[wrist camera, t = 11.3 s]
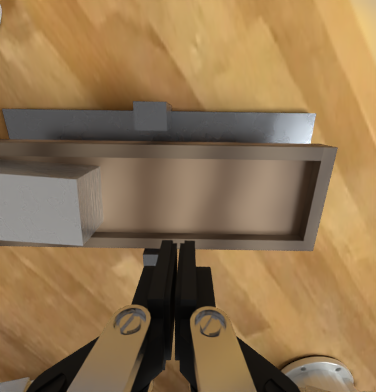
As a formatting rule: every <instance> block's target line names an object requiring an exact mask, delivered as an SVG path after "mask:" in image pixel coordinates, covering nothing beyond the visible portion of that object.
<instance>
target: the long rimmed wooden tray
mask: <svg viewBox="0 0 376 392" xmlns="http://www.w3.org/2000/svg"><path fill="white" fill-rule="evenodd" d="M337 149H338V148H337V147H332V146H327V145H322V144H297V143H230V142H163V141H96V140H29V139H0V159H7V160H20V161H34V162H47V163H60V164H74V165H87V166H100V174H101V190H102V206H103V222H102V224H101V225H100V226H99V227H98V228H97V230H96V231H95V232H94V233H93V234H92V236H91V237H90V238H89V239H88V241H87V242H86V243H85V244H84V245H83V246H77V245H62V244H48V243H33V242H18V241H4V240H0V246H33V247H95V248H157V249H160V246H161V243H162V240H173V243H177V249H180V243H184V240H188V241H195V249H219V250H281V251H313V248H314V244H315V240H316V236H317V232H318V227H319V223H320V219H321V215H322V211H323V207H324V203H325V198H326V194H327V190H328V186H329V182H330V178H331V173H332V169H333V165H334V161H335V157H336V153H337Z"/></svg>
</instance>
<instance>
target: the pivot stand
mask: <svg viewBox="0 0 376 392" xmlns="http://www.w3.org/2000/svg"><path fill="white" fill-rule="evenodd" d="M133 109H134V111H110V110H42V109H2V111H3V114H4V118H5V122H6V126H7V130H8V134H9V138H10V139H29V140H96V141H163V142H230V143H297V144H310V142H311V137H312V132H313V127H314V122H315V117H316V114H313V113H245V112H178V111H172V106H171V105H170V104H168V103H167V102H138V101H133ZM159 250H160V249H157V248H145V250H144V253H143V262H144V266H156V262H157V258H158V254H159Z"/></svg>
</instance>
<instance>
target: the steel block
mask: <svg viewBox="0 0 376 392" xmlns="http://www.w3.org/2000/svg"><path fill="white" fill-rule="evenodd" d="M102 222H103V206H102V190H101V174H100V166H87V165H74V164H60V163H47V162H34V161H20V160H7V159H0V240H4V241H18V242H33V243H48V244H62V245H77V246H83V245H84V244H85V243H86V242H87V241H88V239H89V238H90V237H91V236H92V234H93V233H94V232H95V231H96V230H97V228H98V227H99V226H100V225H101V224H102Z"/></svg>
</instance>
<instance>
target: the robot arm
mask: <svg viewBox="0 0 376 392" xmlns="http://www.w3.org/2000/svg"><path fill="white" fill-rule="evenodd" d="M174 320H175V360H180V372H181V373H182V374H183V376H184V377H185V378H186V379H187V380H188V381H189V392H359V391H358V390H356V388H355V387H354V385H353V384H354V381H353V377H352V374H351V373H350V371H349V370H348V368H347V367H346V366H345V365H344V364H343V363H342V362H340V361H338V360H336V359H333V358H329V357H308V358H304V359H300V360H297V361H295V362H293V363H291V364H289V365H287V366H286V367H285V368H283V369H282V370H281V371H280V370H279V369H277V368H276V367H275V366H274V365H272V364H271V363H270V362H269V361H267V360H266V359H265V358H264V357H262V356H261V355H260V354H258V353H257V352H256V351H255V350H253V349H252V348H251V347H250V346H248V345H247V344H246V343H244V342H243V341H242V340H241V339H239V338H238V337H237V336H236V335H235V332H234V329H233V327H232V324H231V321H230V319H229V317H228V316H227V314H225V313H224V312H223V311H222V310H220V309H218V308H216V306H215V298H214V290H213V283H212V275H211V268H210V267H196V261H195V241H188V240H184V243H180V250H179V261H178V271H177V243H173V240H162V243H161V246H160V250H159V254H158V258H157V262H156V266H144V268H143V271H142V274H141V277H140V280H139V283H138V286H137V289H136V292H135V295H134V298H133V301H132V304H131V305H128V306H125V307H123V308H120V309H119V310H118V311H116V312H115V313H114V314H113V316H112V317H111V318H110V320H109V322H108V323H107V325H106V327H105V328H104V330H103V332H102V333H101V335H100V336H99V337H98V338H96V339H94V340H93V341H91V342H90V343H88V344H87V345H85V346H83V347H82V348H80V349H79V350H77V351H76V352H74V353H73V354H71V355H69V356H68V357H66V358H65V359H63V360H62V361H60V362H58V363H57V364H55V365H54V366H52V367H51V368H49V369H48V370H46V371H45V372H43V373H42V374H41V375H39V376H38V377H37V378H36V379H35V380H31V381H30V378H29V377H27V378H22V379H17V380H12V381H8V382H3V383H0V392H152V388H153V383H154V378H155V377H156V376H157V375H158V374H159V373H160V372H162V370H165V364H166V360H171V354H172V343H173V332H174ZM363 392H372V391H363Z"/></svg>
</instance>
